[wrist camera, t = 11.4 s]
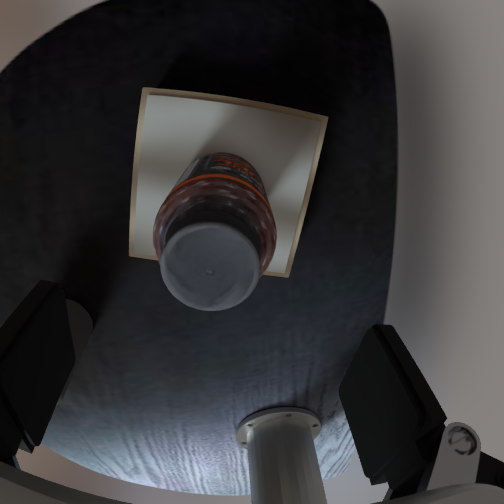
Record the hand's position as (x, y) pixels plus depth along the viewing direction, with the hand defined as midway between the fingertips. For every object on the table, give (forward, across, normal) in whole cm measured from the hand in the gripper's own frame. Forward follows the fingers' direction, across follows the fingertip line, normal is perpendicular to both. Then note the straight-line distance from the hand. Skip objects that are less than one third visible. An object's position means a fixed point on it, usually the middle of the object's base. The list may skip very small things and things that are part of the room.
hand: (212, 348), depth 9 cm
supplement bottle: (+15, 0, -1) cm, 15 cm away
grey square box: (+20, 0, -1) cm, 20 cm away
